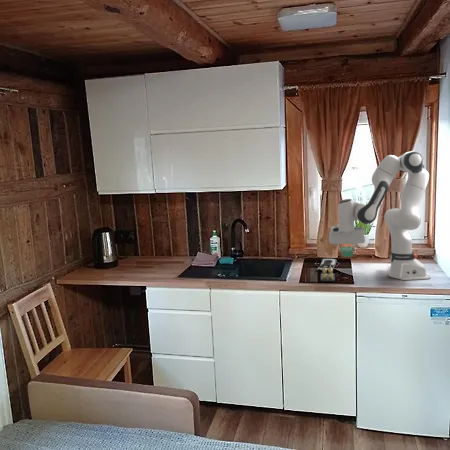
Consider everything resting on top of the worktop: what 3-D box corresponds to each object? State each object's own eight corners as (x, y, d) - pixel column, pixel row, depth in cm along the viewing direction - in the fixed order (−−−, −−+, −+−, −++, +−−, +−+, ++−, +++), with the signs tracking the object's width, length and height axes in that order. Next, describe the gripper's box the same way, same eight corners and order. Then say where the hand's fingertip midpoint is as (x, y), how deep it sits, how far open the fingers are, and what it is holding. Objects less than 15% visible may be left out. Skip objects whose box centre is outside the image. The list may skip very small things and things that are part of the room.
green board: (351, 250, 275) (351, 246, 274) (353, 256, 261) (352, 252, 261) (341, 251, 276) (341, 246, 276) (342, 256, 263) (342, 252, 262)
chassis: (334, 274, 279) (334, 266, 278) (334, 281, 266) (334, 272, 265) (320, 274, 281) (320, 266, 280) (320, 281, 268) (320, 272, 267)
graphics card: (336, 258, 306) (331, 268, 283) (336, 263, 307) (331, 273, 284) (321, 258, 310) (314, 267, 287) (321, 263, 310) (315, 273, 287)
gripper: (364, 225, 267) (365, 249, 269) (328, 227, 271) (329, 250, 274) (365, 227, 261) (366, 251, 263) (328, 229, 265) (329, 252, 268)
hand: (346, 250), depth 268 cm, fingers closed on green board, 6 cm apart
